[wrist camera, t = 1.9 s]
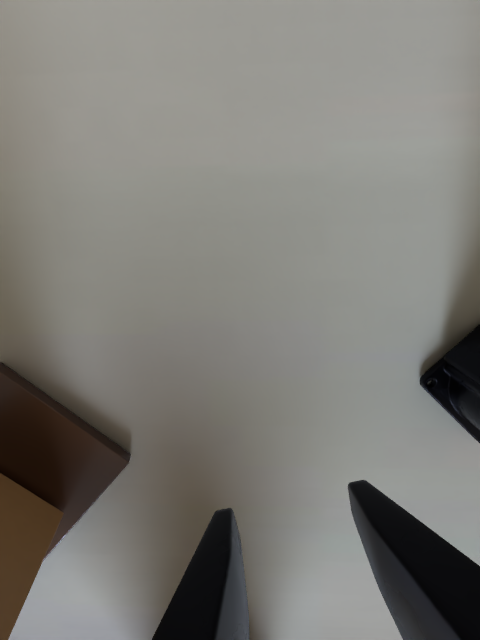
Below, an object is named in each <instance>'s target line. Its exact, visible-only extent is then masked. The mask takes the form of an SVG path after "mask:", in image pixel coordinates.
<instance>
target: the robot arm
mask: <svg viewBox="0 0 480 640" xmlns="http://www.w3.org/2000/svg"><path fill="white" fill-rule="evenodd" d="M429 380H432V382H431V383H430V384H428V381H429ZM420 385H421V386H422V387H423V388H424V389H425V390H426V391H427V392H428V393H429V394H430V395H431V396H432V397H433V398H434V399H435V400H436V401H437V402H438V403H439V404H440V405H441V406H442V407H443V408H444V409H445V410H446V411H447V412H448V413H449V414H450V415H451V416H452V417H453V418H454V419H455V420H456V421H457V422H458V423H459V424H460V425H461V426H462V427H463V428H464V429H465V430H466V431H467V432H468V433H470V434H471V435H472V436H473V437H474V438H475V439H476V440H477V441H478V442H479V443H480V325H479V326H477V327H476V328H475V329H474V330H473V331H472V332H471V333H469V334H468V335H467V336H466V337H465V338H464V339H463V340H462V341H460V342H459V343H458V344H457V345H456V346H455V347H454V348H453V349H451V350H450V351H449V352H448V353H447V354H446V355H445V356H444V357H443V358H442V359H440V360H439V361H438V362H437V363H436V364H435V365H434V366H433V367H431V368H430V369H429V370H428V371H427V372H426V373H425V374H424V375H422V377H421V378H420ZM348 491H349V498H350V505H351V511H352V515H353V518H354V521H355V524H356V527H357V530H358V532H359V535H360V538H361V541H362V544H363V546H364V549H365V552H366V555H367V557H368V560H369V563H370V566H371V568H372V571H373V574H374V577H375V579H376V582H377V584H378V587H379V589H380V592H381V594H382V596H383V598H384V601H385V603H386V605H387V607H388V609H389V611H390V613H391V615H392V617H393V619H394V621H395V624H396V626H397V628H398V630H399V632H400V634H401V636H402V638H403V640H480V566H479V565H477V564H476V563H475V562H473V561H472V560H471V559H469V558H468V557H467V556H465V555H464V554H463V553H461V552H460V551H459V550H457V549H456V548H455V547H454V546H452V545H451V544H450V543H448V542H447V541H446V540H444V539H443V538H442V537H440V536H439V535H438V534H436V533H435V532H434V531H432V530H431V529H430V528H428V527H427V526H426V525H424V524H423V523H422V522H420V521H419V520H418V519H416V518H415V517H414V516H412V515H411V514H410V513H408V512H407V511H406V510H404V509H403V508H402V507H400V506H399V505H398V504H396V503H395V502H394V501H392V500H391V499H390V498H388V497H387V496H386V495H384V494H383V493H382V492H380V491H379V490H378V489H376V488H375V487H374V486H372V485H371V484H370V483H368V482H367V481H365V480H359V481H355V482H350V483H349V484H348ZM152 640H249V612H248V601H247V592H246V583H245V574H244V565H243V556H242V547H241V539H240V534H239V531H238V527H237V523H236V519H235V516H234V512H233V510H232V509H231V508H227V509H222V510H218V511H216V512H215V513H214V515H213V517H212V519H211V521H210V523H209V525H208V527H207V529H206V531H205V533H204V535H203V537H202V539H201V541H200V543H199V545H198V547H197V549H196V551H195V553H194V555H193V557H192V559H191V561H190V563H189V565H188V567H187V569H186V571H185V573H184V575H183V577H182V580H181V582H180V584H179V586H178V588H177V590H176V592H175V594H174V596H173V598H172V600H171V602H170V604H169V606H168V608H167V610H166V612H165V614H164V616H163V618H162V620H161V622H160V624H159V626H158V628H157V630H156V632H155V634H154V636H153V638H152Z"/></svg>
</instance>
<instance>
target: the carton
mask: <svg viewBox="0 0 480 640" xmlns="http://www.w3.org/2000/svg"><path fill="white" fill-rule="evenodd" d="M63 514H64V513H63V512H62V511H60V510H58V509H57V508H55V507H54V506H52V505H50V504H49V503H47V502H46V501H44V500H42V499H41V498H39V497H38V496H36V495H34V494H33V493H31V492H30V491H28V490H27V489H25V488H23V487H22V486H20V485H19V484H17V483H15V482H14V481H12V480H11V479H9V478H7V477H6V476H4V475H3V474H1V473H0V640H8V639H9V636H10V634H11V632H12V629H13V627H14V625H15V623H16V620H17V618H18V616H19V614H20V611H21V609H22V607H23V605H24V602H25V600H26V598H27V596H28V593H29V591H30V589H31V586H32V584H33V582H34V580H35V577H36V575H37V573H38V571H39V568H40V566H41V564H42V562H43V559H44V557H45V555H46V553H47V550H48V548H49V546H50V543H51V541H52V539H53V537H54V534H55V532H56V530H57V528H58V525H59V523H60V521H61V519H62V516H63Z"/></svg>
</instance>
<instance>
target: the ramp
mask: <svg viewBox="0 0 480 640" xmlns="http://www.w3.org/2000/svg"><path fill="white" fill-rule="evenodd" d="M130 456H131V454H130V453H128V452H127V451H126V450H124V449H123V448H121V447H120V446H118V445H117V444H116V443H114V442H113V441H111V440H110V439H109V438H107V437H106V436H104V435H103V434H101V433H100V432H99V431H97V430H96V429H94V428H93V427H92V426H90V425H89V424H87V423H86V422H85V421H83V420H82V419H80V418H79V417H77V416H76V415H75V414H73V413H72V412H70V411H69V410H68V409H66V408H65V407H63V406H62V405H60V404H59V403H58V402H56V401H55V400H53V399H52V398H51V397H49V396H48V395H46V394H45V393H44V392H42V391H41V390H39V389H38V388H36V387H35V386H34V385H32V384H31V383H29V382H28V381H27V380H25V379H24V378H22V377H21V376H19V375H18V374H17V373H15V372H14V371H12V370H11V369H10V368H8V367H7V366H5V365H4V364H3V363H1V362H0V473H1V474H3V475H4V476H6V477H7V478H9V479H11V480H12V481H14V482H15V483H17V484H19V485H20V486H22V487H23V488H25V489H27V490H28V491H30V492H31V493H33V494H34V495H36V496H38V497H39V498H41V499H42V500H44V501H46V502H47V503H49V504H50V505H52V506H54V507H55V508H57V509H58V510H60V511H62V512H63V513H64V514H63V516H62V519H61V521H60V523H59V525H58V528H57V530H56V532H55V534H54V537H53V539H52V541H51V543H50V546H49V548H48V550H47V553H46V555H45V557H44V559H45V558H46V557H47V556H48V555H49V554H50V553H51V551H52V550H53V549H54V548H55V547H56V546H57V545H58V543H59V542H60V541H61V540H62V539H63V538H64V537H65V535H66V534H67V533H68V532H69V531H70V530H71V529H72V527H73V526H74V525H75V524H76V523H77V522H78V521H79V519H80V518H81V517H82V516H83V515H84V514H85V512H86V511H87V510H88V509H89V508H90V507H91V506H92V504H93V503H94V502H95V501H96V500H97V499H98V498H99V496H100V495H101V494H102V493H103V492H104V491H105V490H106V488H107V487H108V486H109V485H110V484H111V483H112V482H113V480H114V479H115V478H116V477H117V476H118V475H119V474H120V472H121V471H122V470H123V469H124V468H125V467H126V465H127V464H128V463H129V460H130ZM44 559H43V561H44Z"/></svg>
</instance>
